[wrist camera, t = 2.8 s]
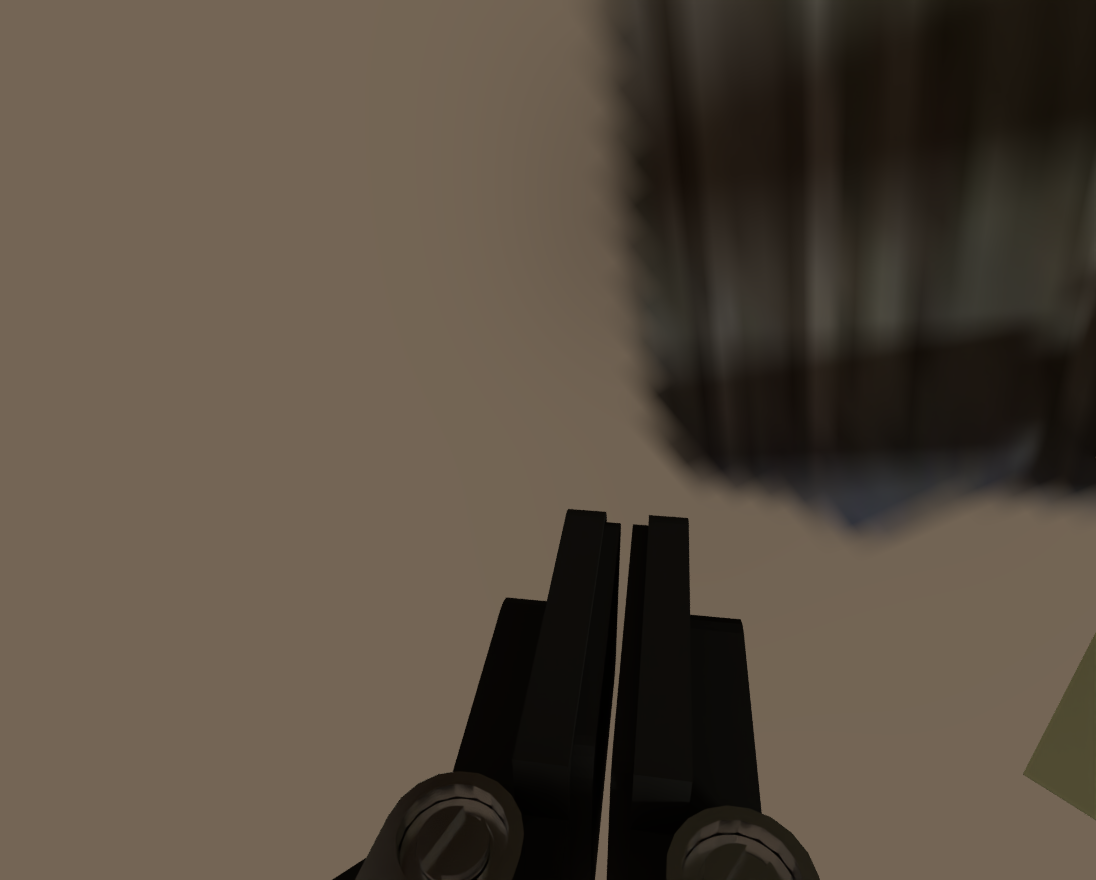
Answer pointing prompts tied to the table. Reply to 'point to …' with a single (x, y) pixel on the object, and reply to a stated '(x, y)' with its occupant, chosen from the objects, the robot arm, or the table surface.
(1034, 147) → the table surface
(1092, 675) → the hinged leg
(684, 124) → the table surface
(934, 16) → the table surface
